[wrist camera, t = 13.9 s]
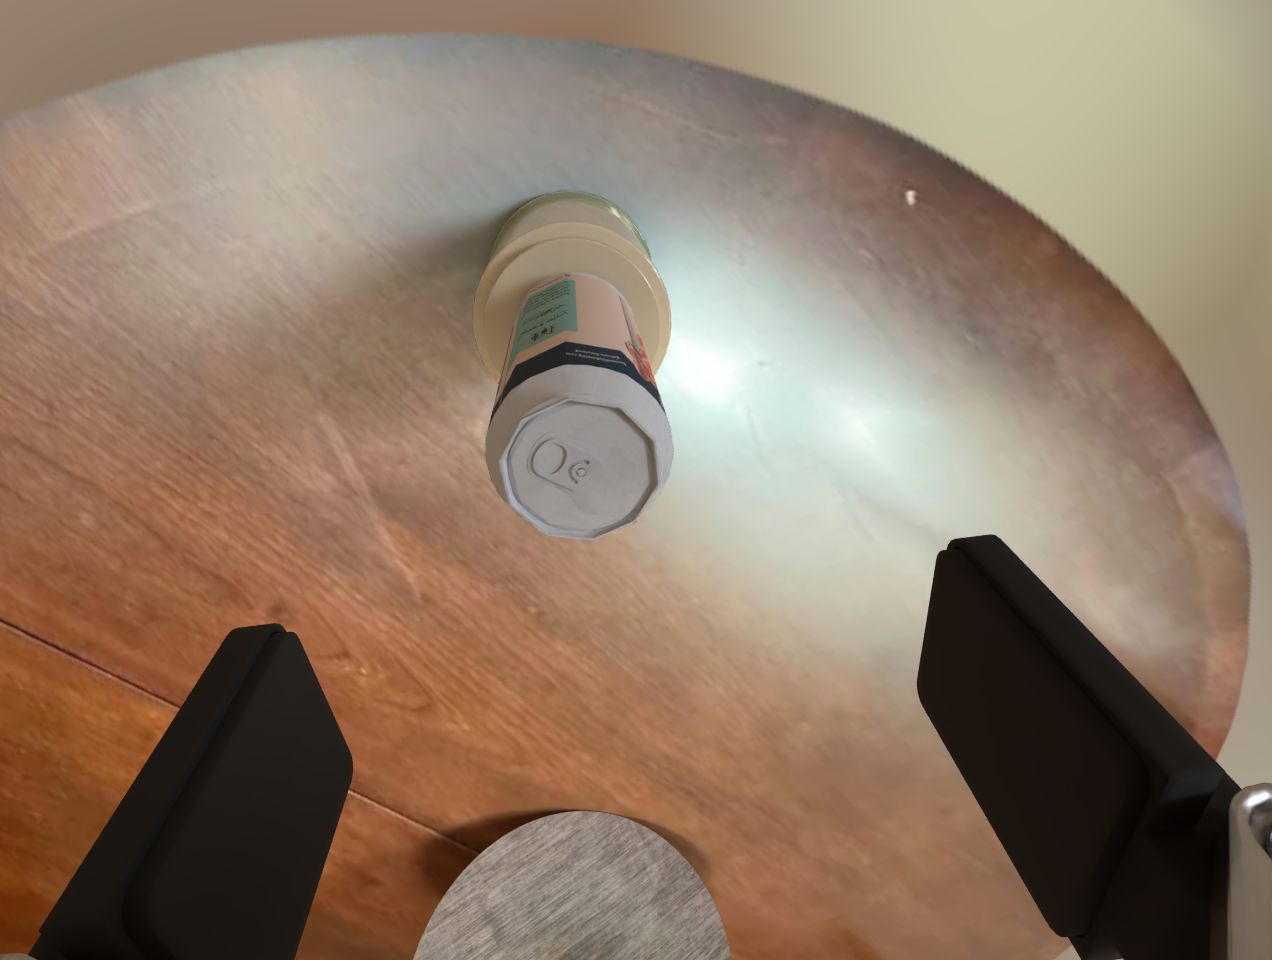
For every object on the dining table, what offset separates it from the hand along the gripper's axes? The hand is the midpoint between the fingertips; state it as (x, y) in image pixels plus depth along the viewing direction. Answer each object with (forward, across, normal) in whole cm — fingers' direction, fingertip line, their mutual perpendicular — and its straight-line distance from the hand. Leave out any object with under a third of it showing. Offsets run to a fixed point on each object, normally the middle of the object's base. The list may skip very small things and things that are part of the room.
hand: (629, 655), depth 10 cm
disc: (+28, +9, +53) cm, 60 cm away
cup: (+29, +1, +1) cm, 29 cm away
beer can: (+19, +1, +1) cm, 19 cm away
